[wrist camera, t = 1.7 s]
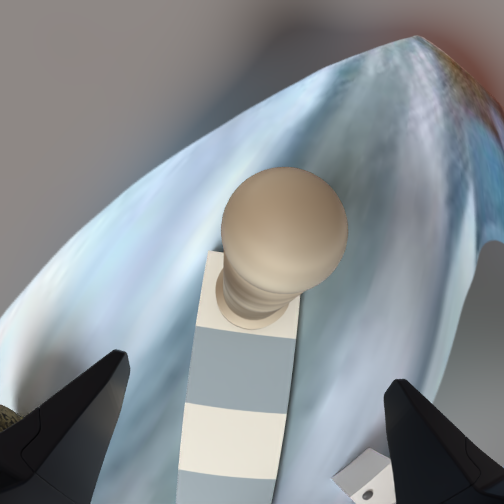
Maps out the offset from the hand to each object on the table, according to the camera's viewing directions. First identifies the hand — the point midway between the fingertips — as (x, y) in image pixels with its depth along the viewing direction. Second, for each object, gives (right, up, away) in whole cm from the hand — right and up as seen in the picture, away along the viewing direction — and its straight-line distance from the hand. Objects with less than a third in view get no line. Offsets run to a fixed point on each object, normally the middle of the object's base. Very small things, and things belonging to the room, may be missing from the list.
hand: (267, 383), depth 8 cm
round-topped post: (-1, +1, +12) cm, 12 cm away
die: (+9, -14, +9) cm, 19 cm away
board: (-2, -7, +10) cm, 12 cm away
